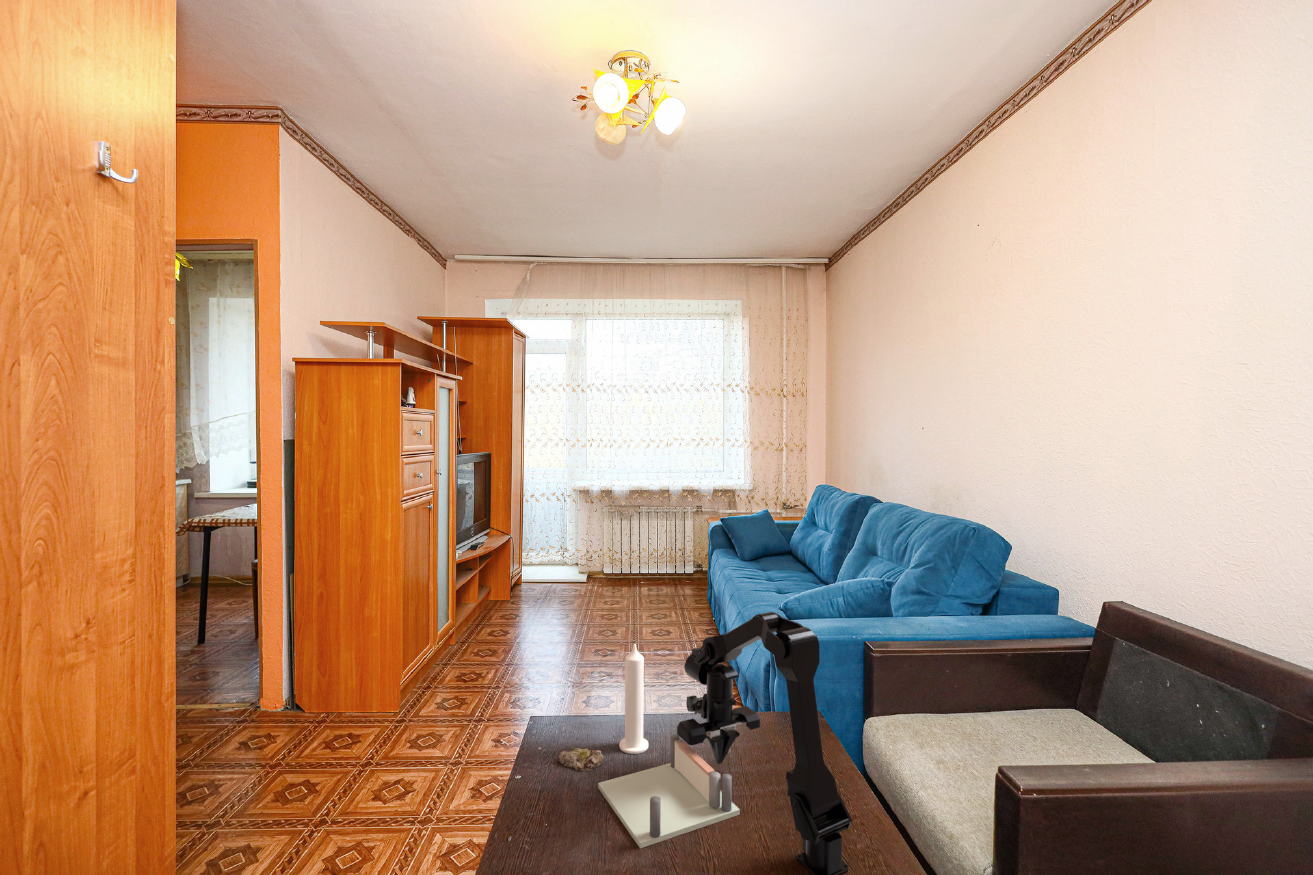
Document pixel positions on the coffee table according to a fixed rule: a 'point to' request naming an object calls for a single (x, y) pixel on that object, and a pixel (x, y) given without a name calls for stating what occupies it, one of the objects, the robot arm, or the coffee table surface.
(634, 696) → the candle
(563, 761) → the mineral rock
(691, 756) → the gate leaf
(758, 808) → the coffee table surface
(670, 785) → the gate base
